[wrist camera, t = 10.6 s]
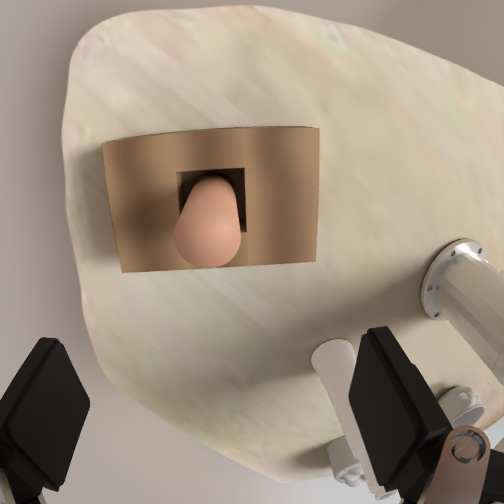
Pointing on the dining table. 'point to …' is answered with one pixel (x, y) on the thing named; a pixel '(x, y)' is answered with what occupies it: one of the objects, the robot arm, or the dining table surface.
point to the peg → (209, 223)
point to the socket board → (245, 184)
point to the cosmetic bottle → (345, 401)
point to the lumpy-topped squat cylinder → (345, 463)
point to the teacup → (461, 406)
